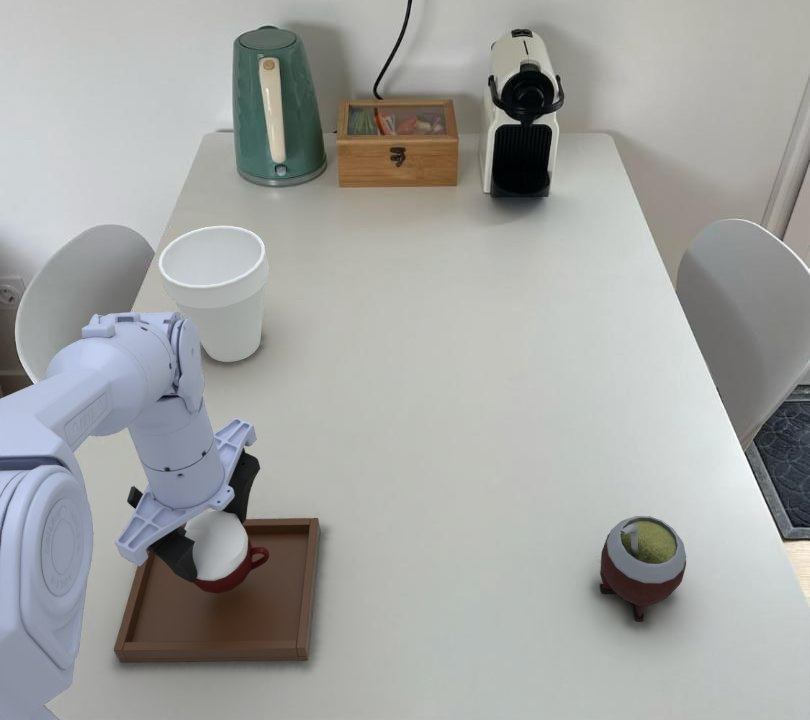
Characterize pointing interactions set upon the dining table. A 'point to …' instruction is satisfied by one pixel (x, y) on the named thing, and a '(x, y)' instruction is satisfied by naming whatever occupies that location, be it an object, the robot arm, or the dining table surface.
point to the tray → (228, 604)
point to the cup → (219, 287)
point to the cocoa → (217, 548)
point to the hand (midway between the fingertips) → (210, 546)
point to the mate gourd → (642, 562)
